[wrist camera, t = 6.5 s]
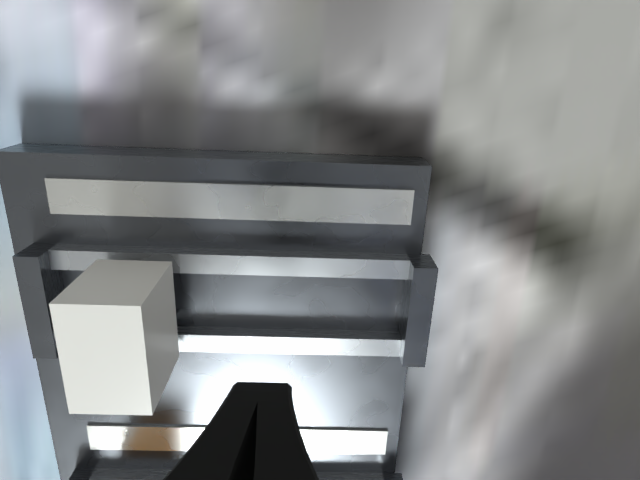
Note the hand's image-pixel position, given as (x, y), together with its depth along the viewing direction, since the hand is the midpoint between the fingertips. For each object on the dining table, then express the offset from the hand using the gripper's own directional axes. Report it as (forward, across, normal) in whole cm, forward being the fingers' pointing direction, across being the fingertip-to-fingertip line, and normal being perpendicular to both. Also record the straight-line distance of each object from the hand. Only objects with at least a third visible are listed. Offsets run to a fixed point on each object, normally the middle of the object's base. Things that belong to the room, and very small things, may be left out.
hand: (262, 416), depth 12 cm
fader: (+6, +5, 0) cm, 7 cm away
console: (+7, +2, +5) cm, 9 cm away
